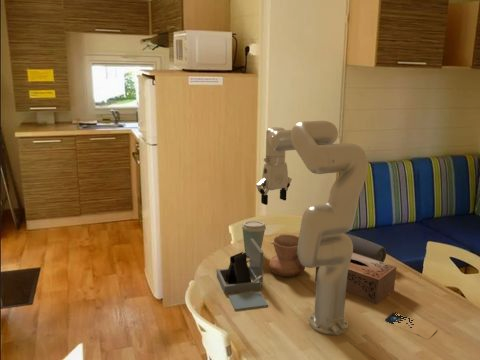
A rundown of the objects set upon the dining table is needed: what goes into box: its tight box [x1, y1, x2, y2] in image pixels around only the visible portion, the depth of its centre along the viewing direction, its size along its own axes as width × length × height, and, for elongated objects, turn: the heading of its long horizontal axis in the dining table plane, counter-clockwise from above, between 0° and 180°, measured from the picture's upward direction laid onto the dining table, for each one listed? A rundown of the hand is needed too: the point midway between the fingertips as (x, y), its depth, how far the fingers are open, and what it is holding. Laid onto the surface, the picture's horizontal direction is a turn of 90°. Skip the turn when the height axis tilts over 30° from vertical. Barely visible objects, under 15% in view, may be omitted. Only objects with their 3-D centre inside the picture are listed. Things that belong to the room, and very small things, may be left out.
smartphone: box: [384, 311, 414, 328], centre depth 149 cm, size 8×1×15 cm
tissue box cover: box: [314, 253, 398, 306], centre depth 173 cm, size 26×14×10 cm, turn 47°
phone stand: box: [224, 251, 252, 285], centre depth 174 cm, size 9×6×12 cm, turn 44°
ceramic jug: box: [268, 233, 306, 278], centre depth 183 cm, size 18×14×14 cm
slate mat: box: [227, 290, 269, 312], centre depth 162 cm, size 10×12×1 cm
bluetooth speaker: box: [344, 232, 387, 263], centre depth 196 cm, size 23×9×10 cm, turn 42°
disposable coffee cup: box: [241, 220, 267, 258], centre depth 199 cm, size 11×11×15 cm
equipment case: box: [216, 238, 265, 295], centre depth 173 cm, size 16×15×15 cm
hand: (273, 201), depth 179 cm, fingers open, 9 cm apart
